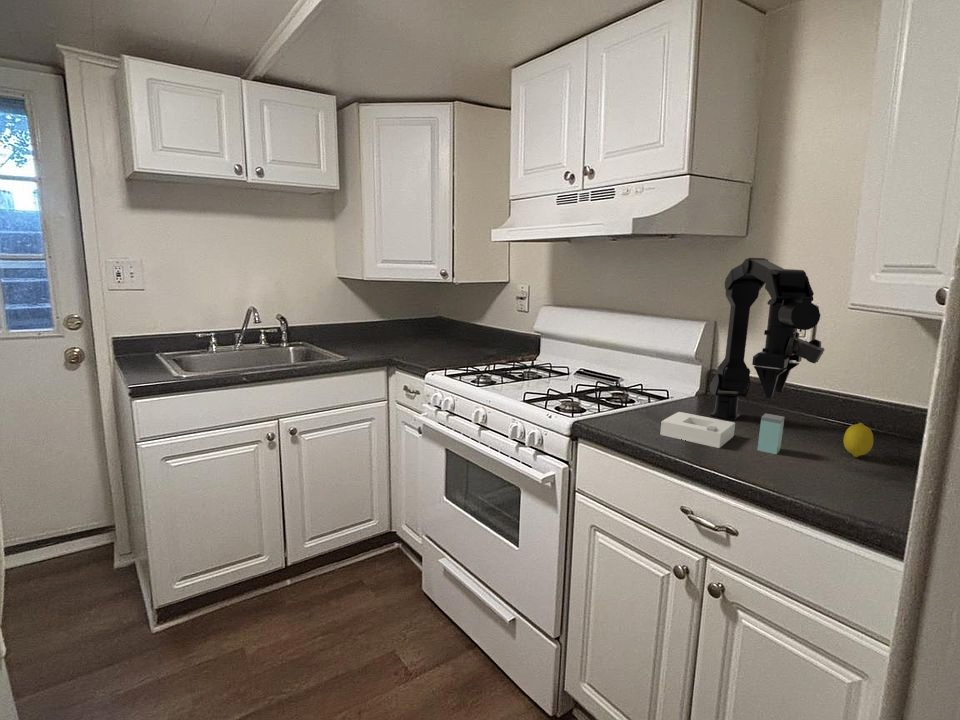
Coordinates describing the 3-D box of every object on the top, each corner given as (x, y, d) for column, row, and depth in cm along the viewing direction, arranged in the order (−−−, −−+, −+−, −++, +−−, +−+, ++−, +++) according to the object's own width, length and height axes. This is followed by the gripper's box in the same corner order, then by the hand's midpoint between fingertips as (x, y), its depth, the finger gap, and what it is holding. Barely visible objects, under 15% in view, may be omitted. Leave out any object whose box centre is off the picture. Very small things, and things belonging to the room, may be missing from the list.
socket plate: (677, 424, 146) (678, 409, 145) (733, 436, 138) (735, 420, 137) (660, 434, 137) (661, 418, 136) (719, 448, 128) (721, 431, 128)
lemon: (865, 454, 127) (871, 421, 126) (873, 463, 122) (879, 428, 120) (838, 451, 129) (843, 418, 127) (844, 459, 124) (850, 424, 122)
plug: (761, 446, 131) (765, 413, 130) (780, 450, 129) (784, 416, 127) (757, 450, 128) (761, 416, 126) (776, 454, 125) (780, 420, 124)
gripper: (815, 331, 111) (806, 407, 114) (830, 327, 126) (822, 395, 128) (755, 326, 119) (747, 398, 121) (776, 323, 133) (769, 387, 135)
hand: (774, 394), depth 126 cm, fingers open, 9 cm apart
